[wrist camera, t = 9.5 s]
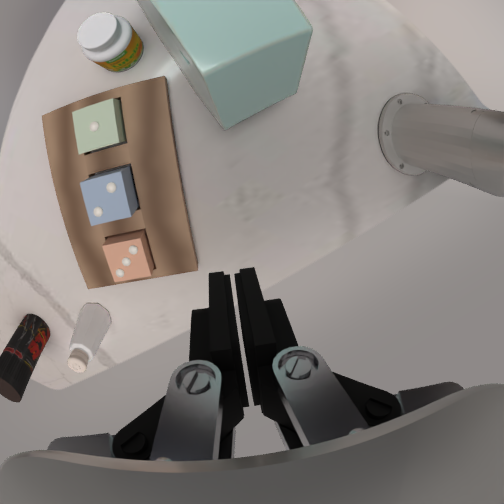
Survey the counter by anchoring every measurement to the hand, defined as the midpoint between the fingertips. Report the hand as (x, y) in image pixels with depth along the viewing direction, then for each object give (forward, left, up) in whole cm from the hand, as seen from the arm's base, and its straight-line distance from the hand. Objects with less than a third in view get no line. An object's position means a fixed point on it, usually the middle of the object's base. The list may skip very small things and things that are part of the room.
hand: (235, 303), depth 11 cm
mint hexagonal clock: (-1, -16, -26) cm, 30 cm away
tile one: (+12, -9, -25) cm, 29 cm away
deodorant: (+36, +18, -25) cm, 47 cm away
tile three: (+12, +7, -25) cm, 28 cm away
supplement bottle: (+9, -18, -25) cm, 32 cm away
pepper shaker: (+22, +17, -25) cm, 37 cm away
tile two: (+12, -1, -24) cm, 26 cm away
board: (+12, -1, -25) cm, 28 cm away
